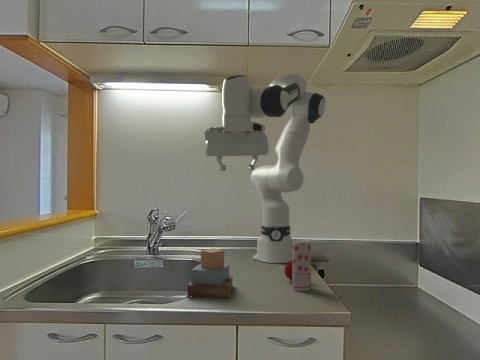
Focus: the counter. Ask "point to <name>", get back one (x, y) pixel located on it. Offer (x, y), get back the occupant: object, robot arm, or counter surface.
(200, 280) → the grey block
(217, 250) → the rust cube
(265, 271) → the counter surface
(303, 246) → the beverage can
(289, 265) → the onion
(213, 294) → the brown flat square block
